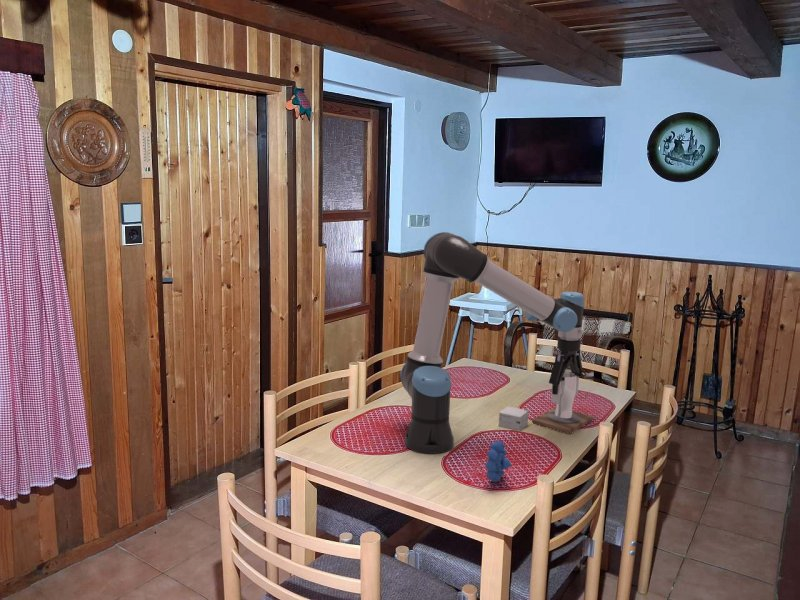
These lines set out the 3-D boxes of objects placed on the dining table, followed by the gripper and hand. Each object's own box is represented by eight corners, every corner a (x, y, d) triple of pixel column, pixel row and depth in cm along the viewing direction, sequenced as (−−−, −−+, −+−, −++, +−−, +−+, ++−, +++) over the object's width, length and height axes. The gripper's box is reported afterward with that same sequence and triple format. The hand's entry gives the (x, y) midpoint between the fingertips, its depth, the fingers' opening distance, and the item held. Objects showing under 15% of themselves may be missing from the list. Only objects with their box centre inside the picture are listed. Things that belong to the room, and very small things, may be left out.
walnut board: (569, 434, 216) (570, 428, 216) (532, 423, 225) (532, 417, 225) (593, 420, 230) (593, 414, 229) (556, 410, 238) (557, 405, 238)
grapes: (503, 494, 173) (505, 451, 171) (478, 488, 176) (481, 445, 174) (516, 477, 183) (519, 436, 181) (493, 472, 186) (495, 431, 184)
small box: (497, 426, 222) (498, 411, 221) (507, 419, 228) (508, 405, 227) (519, 431, 218) (520, 416, 217) (528, 424, 224) (529, 410, 223)
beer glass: (572, 413, 230) (575, 372, 227) (575, 420, 223) (578, 377, 220) (551, 412, 231) (554, 370, 228) (554, 419, 224) (557, 376, 221)
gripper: (562, 346, 210) (557, 409, 214) (595, 334, 229) (590, 392, 233) (541, 341, 215) (536, 404, 219) (575, 330, 234) (571, 388, 238)
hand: (564, 398), depth 226 cm, fingers open, 13 cm apart
